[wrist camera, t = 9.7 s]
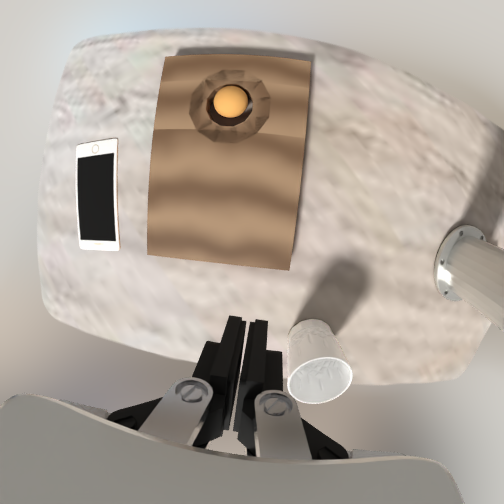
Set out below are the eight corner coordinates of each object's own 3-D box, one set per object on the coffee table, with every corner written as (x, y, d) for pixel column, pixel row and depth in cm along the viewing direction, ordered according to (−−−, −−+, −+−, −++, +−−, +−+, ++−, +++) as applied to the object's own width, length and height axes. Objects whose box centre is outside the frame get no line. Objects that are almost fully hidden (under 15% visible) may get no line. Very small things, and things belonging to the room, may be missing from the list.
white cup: (342, 317, 37) (362, 358, 27) (327, 360, 39) (340, 404, 30) (289, 311, 37) (296, 354, 28) (278, 355, 39) (281, 402, 30)
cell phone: (119, 138, 32) (117, 137, 31) (121, 250, 36) (119, 251, 36) (78, 145, 32) (76, 145, 32) (82, 247, 37) (79, 249, 36)
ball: (239, 111, 32) (253, 88, 28) (238, 128, 30) (254, 102, 26) (210, 101, 30) (223, 76, 27) (206, 117, 28) (220, 89, 25)
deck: (287, 264, 35) (289, 270, 33) (154, 249, 36) (147, 254, 33) (307, 68, 28) (310, 61, 26) (171, 63, 29) (165, 56, 26)
